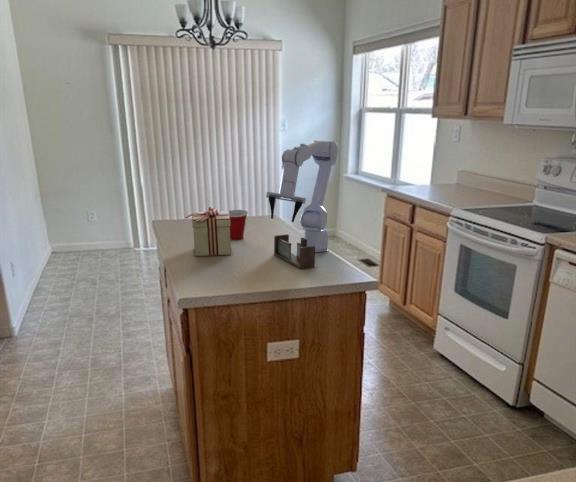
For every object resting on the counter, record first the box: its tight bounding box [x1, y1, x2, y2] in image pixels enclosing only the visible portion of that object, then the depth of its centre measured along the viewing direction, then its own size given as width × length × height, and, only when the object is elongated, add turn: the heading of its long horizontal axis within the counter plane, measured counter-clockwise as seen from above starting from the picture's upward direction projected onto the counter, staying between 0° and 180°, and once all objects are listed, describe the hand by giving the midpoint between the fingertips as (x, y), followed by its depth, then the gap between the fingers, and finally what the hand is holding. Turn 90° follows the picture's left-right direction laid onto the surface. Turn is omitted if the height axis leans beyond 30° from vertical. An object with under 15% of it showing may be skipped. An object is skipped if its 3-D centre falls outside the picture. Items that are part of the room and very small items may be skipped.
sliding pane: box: [296, 237, 307, 259], centre depth 202 cm, size 1×9×9 cm, turn 28°
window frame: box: [273, 233, 316, 270], centre depth 206 cm, size 6×22×8 cm, turn 28°
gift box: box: [184, 206, 232, 257], centre depth 214 cm, size 17×18×17 cm
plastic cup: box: [227, 209, 249, 241], centre depth 237 cm, size 11×11×12 cm
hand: (282, 220), depth 196 cm, fingers open, 7 cm apart
